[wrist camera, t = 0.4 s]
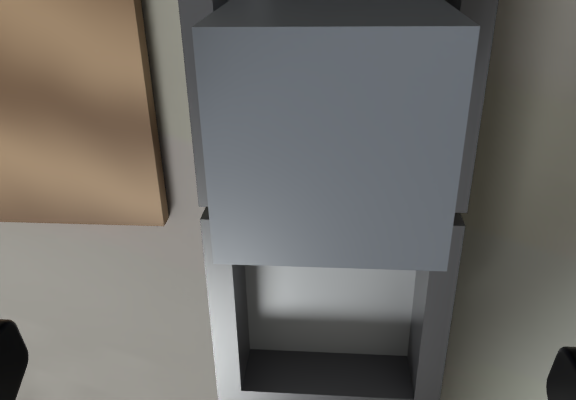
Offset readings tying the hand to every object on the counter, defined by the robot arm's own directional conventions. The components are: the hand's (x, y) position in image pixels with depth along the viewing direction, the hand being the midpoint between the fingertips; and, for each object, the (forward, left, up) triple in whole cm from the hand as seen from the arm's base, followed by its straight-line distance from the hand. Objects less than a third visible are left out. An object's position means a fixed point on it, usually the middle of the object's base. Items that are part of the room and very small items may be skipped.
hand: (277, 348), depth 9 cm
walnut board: (0, +12, -15) cm, 19 cm away
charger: (+2, -1, -12) cm, 12 cm away
